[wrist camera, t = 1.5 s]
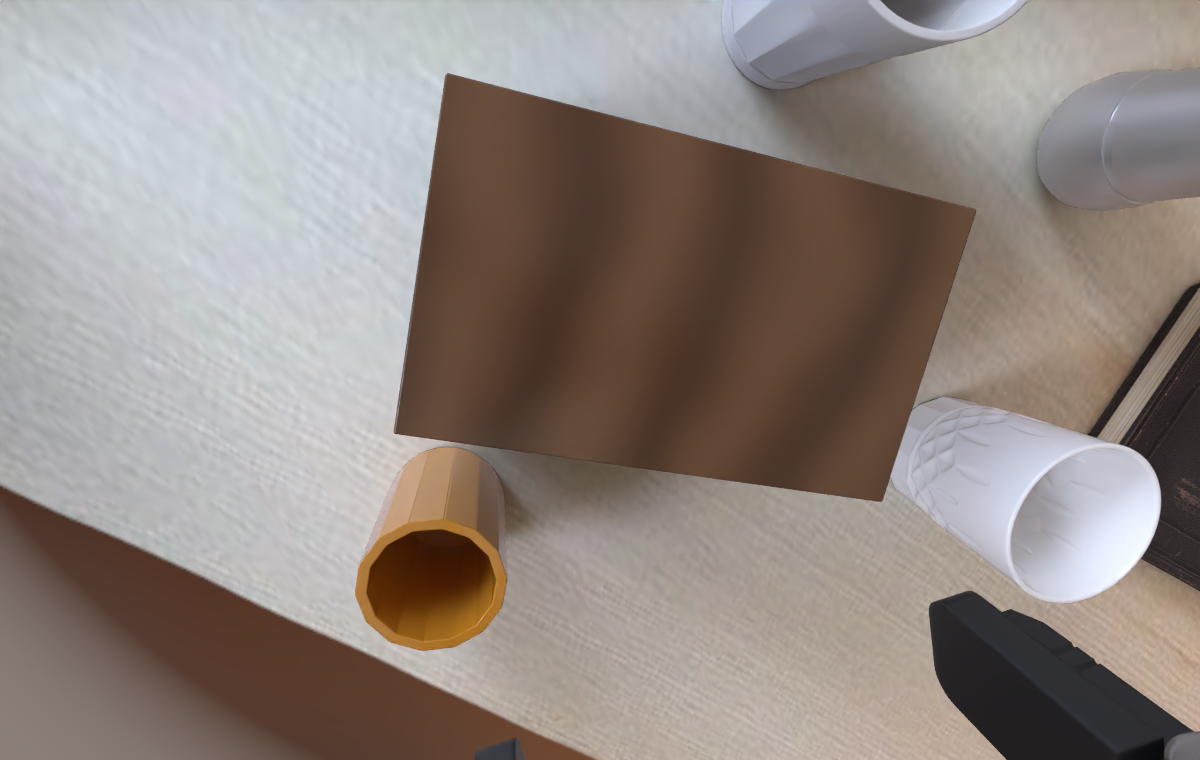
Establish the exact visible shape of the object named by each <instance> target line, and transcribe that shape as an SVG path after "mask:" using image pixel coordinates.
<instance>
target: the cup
mask: <svg viewBox="0 0 1200 760" xmlns="http://www.w3.org/2000/svg"><path fill="white" fill-rule="evenodd" d="M1028 1H1029V0H724V1H723V6H722V15H721V24H722V33H723V38H724V42H725V46H726V48H727V51H728V53H729V55H730V57H731V59H732V61H733V62H734V64H735V65H736V67H737V68H738V69H739V70H740V71H741V73H742V74H744V75H745V76H746V77H747V78H748V79H750V80H751V81H752V82H754V83H756V84H758V85H760V86H763V87H765V88H769V89H775V90H787V89H793V88H796V87H799V86H802V85H804V84H806V83H809V82H811V81H813V80H815V79H819V78H822V77H826V76H829V75H833V74H836V73H840V72H843V71H847V70H850V69H854V68H857V67H861V66H864V65H868V64H871V63H875V62H878V61H882V60H885V59H889V58H892V57H896V56H902V55H907V54H911V53H914V52H918V51H922V50H926V49H930V48H934V47H938V46H942V45H946V44H949V43H953V42H957V41H961V40H965V39H969V38H972V37H976V36H978V35H981V34H983V33H986V32H988V31H990V30H992V29H994V28H996V27H997V26H999V25H1001V24H1002V23H1004V22H1005V21H1006V20H1008V19H1009V18H1010V17H1012V16H1013V15H1014V14H1015V13H1017V12H1018V11H1019V10H1020V9H1021V8H1022V7H1023V6H1024V5H1025V4H1026V3H1027V2H1028Z"/></svg>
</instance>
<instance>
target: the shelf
mask: <svg viewBox="0 0 1200 760" xmlns="http://www.w3.org/2000/svg"><path fill="white" fill-rule="evenodd" d="M975 213H976V210H975V209H973V208H969V207H965V206H961V205H957V204H954V203H950V202H946V201H942V200H938V199H934V198H930V197H926V196H922V195H919V194H915V193H911V192H907V191H903V190H899V189H895V188H891V187H888V186H884V185H880V184H876V183H872V182H868V181H864V180H860V179H856V178H853V177H849V176H845V175H841V174H837V173H833V172H829V171H825V170H822V169H818V168H814V167H810V166H806V165H802V164H798V163H794V162H790V161H787V160H783V159H779V158H775V157H771V156H767V155H763V154H759V153H756V152H752V151H748V150H744V149H740V148H736V147H732V146H728V145H725V144H721V143H717V142H713V141H709V140H705V139H701V138H697V137H693V136H690V135H686V134H682V133H678V132H674V131H670V130H666V129H662V128H659V127H655V126H651V125H647V124H643V123H639V122H635V121H631V120H627V119H624V118H620V117H616V116H612V115H608V114H604V113H600V112H596V111H593V110H589V109H585V108H581V107H577V106H573V105H569V104H565V103H561V102H558V101H554V100H550V99H546V98H542V97H538V96H534V95H530V94H527V93H523V92H519V91H515V90H511V89H507V88H503V87H499V86H495V85H492V84H488V83H484V82H480V81H476V80H472V79H468V78H464V77H461V76H457V75H453V74H449V73H447V74H446V75H445V81H444V88H443V95H442V102H441V109H440V116H439V123H438V129H437V136H436V143H435V150H434V157H433V164H432V171H431V178H430V185H429V192H428V199H427V206H426V212H425V219H424V226H423V233H422V240H421V247H420V254H419V261H418V268H417V275H416V282H415V289H414V295H413V302H412V309H411V316H410V323H409V330H408V337H407V344H406V351H405V358H404V365H403V372H402V378H401V385H400V392H399V399H398V406H397V413H396V420H395V427H394V433H395V434H400V435H407V436H414V437H421V438H429V439H436V440H443V441H450V442H457V443H464V444H471V445H479V446H486V447H493V448H500V449H507V450H514V451H521V452H528V453H536V454H543V455H550V456H557V457H564V458H571V459H578V460H585V461H593V462H600V463H607V464H614V465H621V466H628V467H635V468H643V469H650V470H657V471H664V472H671V473H678V474H685V475H692V476H700V477H707V478H714V479H721V480H728V481H735V482H742V483H749V484H757V485H764V486H771V487H778V488H785V489H792V490H799V491H807V492H814V493H821V494H828V495H835V496H842V497H849V498H856V499H864V500H871V501H878V502H882V501H883V498H884V494H885V491H886V488H887V485H888V482H889V479H890V476H891V473H892V470H893V467H894V464H895V460H896V457H897V454H898V451H899V448H900V445H901V442H902V439H903V436H904V433H905V430H906V426H907V423H908V420H909V417H910V414H911V411H912V408H913V405H914V402H915V399H916V396H917V393H918V389H919V386H920V383H921V380H922V377H923V374H924V371H925V368H926V365H927V362H928V359H929V355H930V352H931V349H932V346H933V343H934V340H935V337H936V334H937V331H938V328H939V325H940V321H941V318H942V315H943V312H944V309H945V306H946V303H947V300H948V297H949V294H950V291H951V288H952V284H953V281H954V278H955V275H956V272H957V269H958V266H959V263H960V260H961V257H962V254H963V250H964V247H965V244H966V241H967V238H968V235H969V232H970V229H971V226H972V223H973V220H974V216H975Z"/></svg>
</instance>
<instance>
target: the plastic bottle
mask: <svg viewBox="0 0 1200 760" xmlns="http://www.w3.org/2000/svg"><path fill="white" fill-rule="evenodd" d="M1037 165H1038V171H1039V174H1040V178H1041V180H1042V182H1043V184H1044V185H1045V186H1046V188H1047V189H1048V190H1049V191H1050V192H1051V193H1052V195H1053V196H1054V197H1055V198H1056V199H1058V200H1059V201H1061V202H1062V203H1064V204H1066V205H1069V206H1072V207H1077V208H1082V209H1088V210H1094V211H1109V210H1116V209H1123V208H1130V207H1137V206H1141V205H1146V204H1150V203H1153V202H1156V201H1164V200H1173V199H1183V198H1192V197H1200V67H1197V68H1189V69H1182V70H1144V71H1133V72H1122V73H1116V74H1113V75H1110V76H1108V77H1105V78H1103V79H1100V80H1098V81H1095V82H1093V83H1091V84H1088V85H1086V86H1083V87H1082V88H1080V89H1078V90H1077V91H1075V92H1073V93H1072V94H1071V95H1070V96H1069V97H1068V98H1067V99H1065V100H1064V101H1063V102H1062V104H1061V105H1060V106H1059V107H1058V108H1057V109H1056V111H1055V112H1054V113H1053V114H1052V116H1051V117H1050V118H1049V120H1048V122H1047V123H1046V125H1045V127H1044V129H1043V131H1042V134H1041V136H1040V140H1039V144H1038V151H1037Z"/></svg>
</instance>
